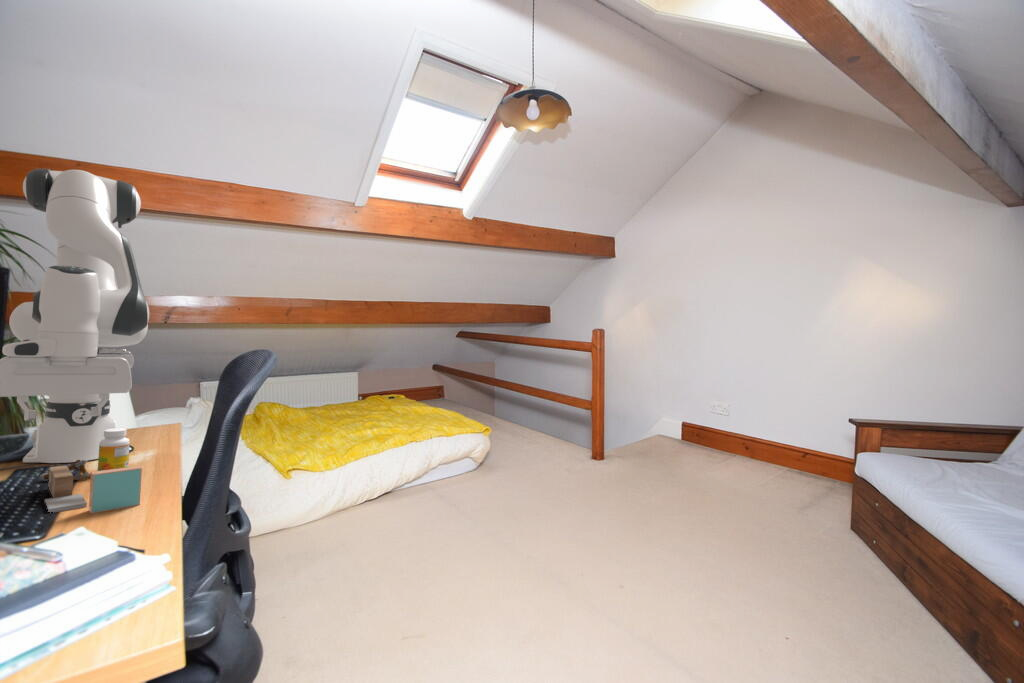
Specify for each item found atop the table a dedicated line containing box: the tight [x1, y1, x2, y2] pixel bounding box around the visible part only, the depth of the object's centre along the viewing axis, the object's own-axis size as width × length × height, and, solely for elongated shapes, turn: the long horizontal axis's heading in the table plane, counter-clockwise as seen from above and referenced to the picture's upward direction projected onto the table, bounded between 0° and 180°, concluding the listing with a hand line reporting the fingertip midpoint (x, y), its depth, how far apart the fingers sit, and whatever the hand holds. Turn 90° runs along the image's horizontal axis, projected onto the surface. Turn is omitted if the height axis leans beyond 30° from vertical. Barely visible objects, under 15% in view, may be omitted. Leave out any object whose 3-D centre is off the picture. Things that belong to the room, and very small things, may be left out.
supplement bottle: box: [97, 427, 131, 471], centre depth 109 cm, size 5×5×10 cm
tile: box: [88, 465, 143, 515], centre depth 87 cm, size 2×7×7 cm, turn 139°
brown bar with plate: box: [44, 464, 88, 514], centre depth 91 cm, size 17×5×4 cm, turn 49°
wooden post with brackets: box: [39, 460, 91, 481], centre depth 101 cm, size 2×8×4 cm, turn 105°
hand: (64, 417), depth 93 cm, fingers open, 8 cm apart
